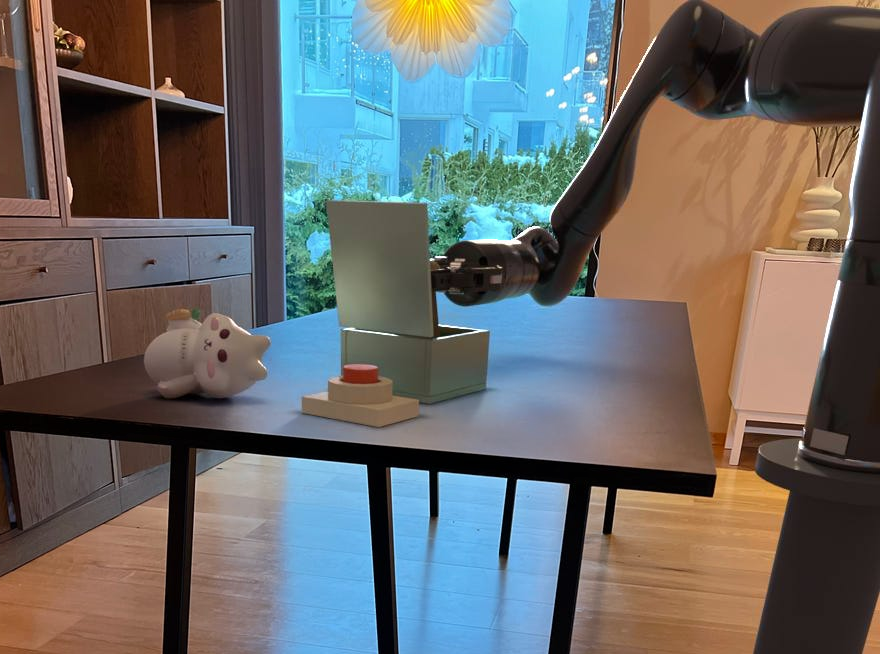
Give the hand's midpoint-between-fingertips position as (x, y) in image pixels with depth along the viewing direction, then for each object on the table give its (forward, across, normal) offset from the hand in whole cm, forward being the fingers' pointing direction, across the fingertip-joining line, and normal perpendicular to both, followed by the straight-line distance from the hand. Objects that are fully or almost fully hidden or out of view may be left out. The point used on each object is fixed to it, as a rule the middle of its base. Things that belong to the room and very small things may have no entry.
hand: (405, 279), depth 100 cm
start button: (+14, +4, +9) cm, 17 cm away
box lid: (+5, 0, -1) cm, 5 cm away
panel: (+14, +4, +12) cm, 19 cm away
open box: (-2, 0, +12) cm, 13 cm away
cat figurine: (+18, -14, +12) cm, 26 cm away
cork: (-3, 0, +9) cm, 10 cm away
